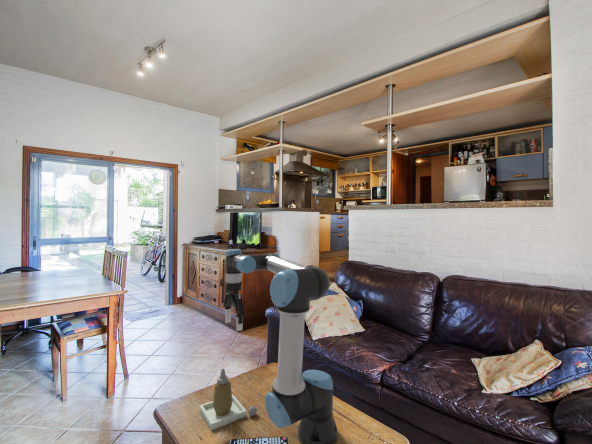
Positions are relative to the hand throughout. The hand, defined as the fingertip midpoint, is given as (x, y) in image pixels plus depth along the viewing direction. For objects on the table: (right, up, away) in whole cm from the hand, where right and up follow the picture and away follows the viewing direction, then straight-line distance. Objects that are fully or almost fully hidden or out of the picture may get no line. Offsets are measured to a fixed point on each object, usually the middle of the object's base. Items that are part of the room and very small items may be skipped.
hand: (233, 326), depth 143 cm
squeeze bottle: (-1, -31, -16) cm, 35 cm away
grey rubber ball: (+12, -32, -17) cm, 38 cm away
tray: (-1, -32, -16) cm, 35 cm away
